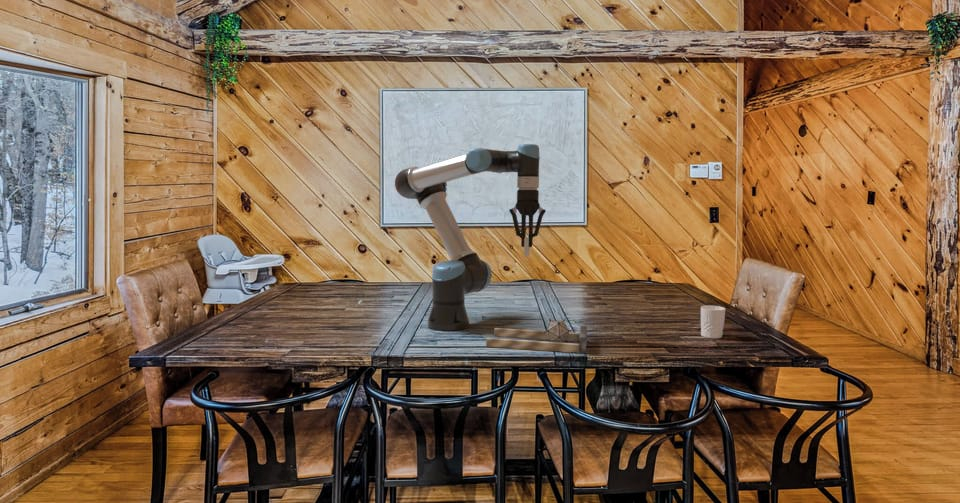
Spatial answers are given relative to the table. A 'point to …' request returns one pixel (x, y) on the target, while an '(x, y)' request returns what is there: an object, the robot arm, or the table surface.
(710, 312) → the white cup
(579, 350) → the guide channel
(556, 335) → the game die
